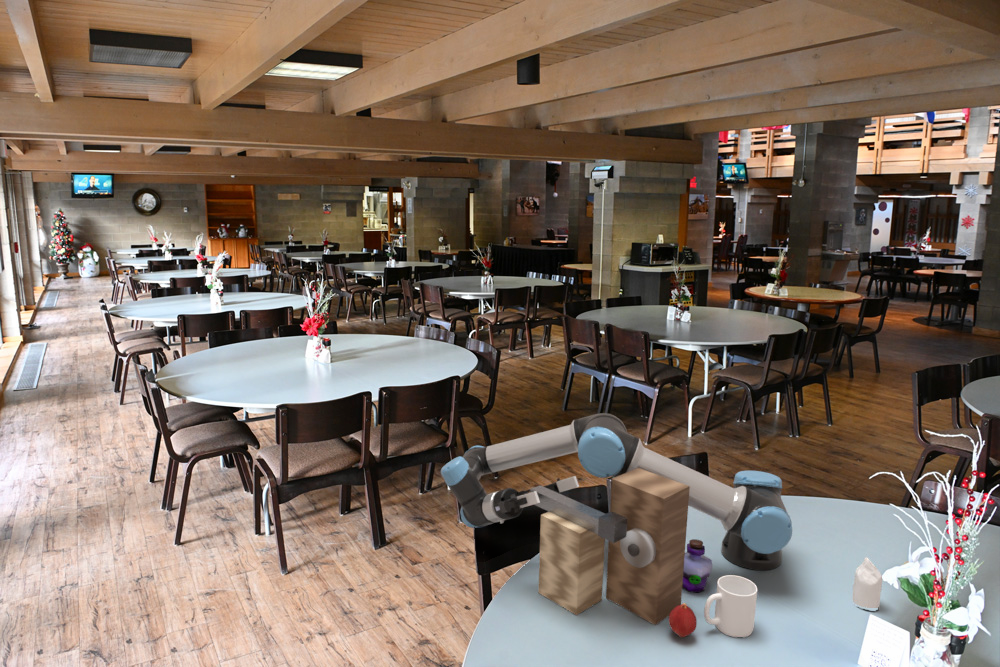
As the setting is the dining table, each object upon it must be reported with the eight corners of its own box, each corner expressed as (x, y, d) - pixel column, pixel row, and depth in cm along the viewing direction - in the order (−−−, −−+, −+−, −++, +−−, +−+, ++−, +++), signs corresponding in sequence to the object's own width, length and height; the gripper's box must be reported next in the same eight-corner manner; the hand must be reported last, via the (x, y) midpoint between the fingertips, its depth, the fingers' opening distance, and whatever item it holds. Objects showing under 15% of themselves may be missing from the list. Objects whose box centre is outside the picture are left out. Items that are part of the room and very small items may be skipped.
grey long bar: (528, 503, 165) (529, 486, 164) (541, 498, 168) (541, 481, 167) (613, 543, 146) (614, 524, 145) (626, 536, 149) (627, 518, 148)
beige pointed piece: (891, 562, 156) (873, 566, 154) (884, 609, 158) (867, 614, 156) (868, 550, 161) (851, 554, 159) (862, 595, 163) (845, 600, 161)
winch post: (680, 607, 157) (689, 486, 152) (646, 631, 148) (655, 502, 143) (631, 582, 167) (638, 467, 162) (597, 603, 159) (602, 482, 153)
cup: (761, 634, 148) (765, 592, 146) (714, 644, 144) (717, 601, 142) (737, 613, 156) (741, 572, 154) (692, 621, 152) (695, 580, 150)
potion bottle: (683, 598, 161) (687, 551, 159) (669, 578, 170) (672, 534, 167) (717, 595, 163) (721, 549, 160) (701, 576, 171) (705, 531, 169)
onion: (664, 628, 150) (666, 595, 148) (689, 627, 150) (692, 594, 149) (672, 645, 144) (675, 611, 142) (699, 644, 144) (702, 610, 143)
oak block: (601, 600, 160) (605, 521, 156) (576, 615, 154) (579, 533, 150) (563, 579, 168) (566, 503, 165) (538, 592, 162) (540, 514, 159)
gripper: (542, 505, 183) (596, 490, 168) (471, 534, 166) (524, 520, 151) (532, 478, 184) (586, 460, 169) (461, 504, 168) (513, 487, 152)
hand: (557, 489), depth 160 cm, fingers open, 13 cm apart
